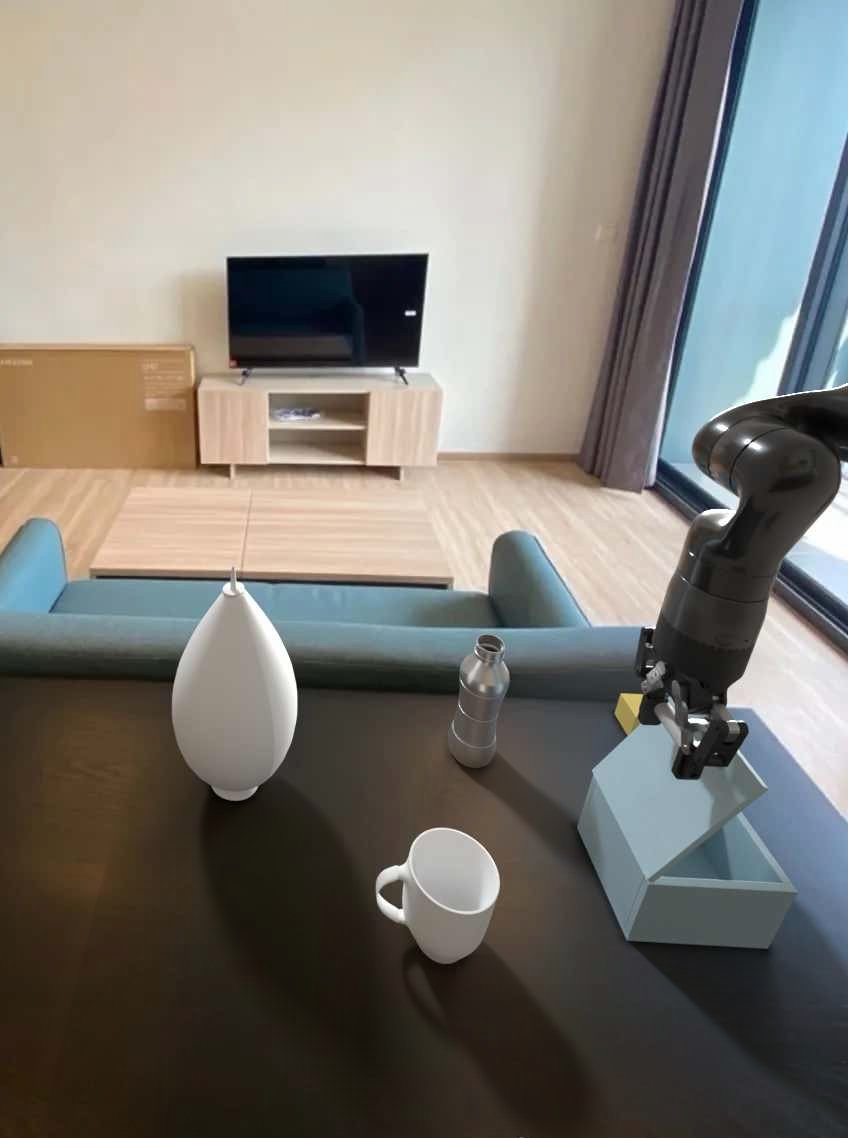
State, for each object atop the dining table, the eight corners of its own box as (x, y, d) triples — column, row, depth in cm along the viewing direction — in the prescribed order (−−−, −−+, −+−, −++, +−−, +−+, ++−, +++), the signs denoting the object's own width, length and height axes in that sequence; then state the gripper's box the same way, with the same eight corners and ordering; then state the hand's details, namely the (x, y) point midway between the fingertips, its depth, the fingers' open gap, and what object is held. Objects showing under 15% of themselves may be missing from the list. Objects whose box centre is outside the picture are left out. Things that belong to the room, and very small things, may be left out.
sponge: (653, 717, 98) (661, 694, 96) (670, 742, 94) (678, 719, 92) (613, 715, 98) (620, 693, 96) (628, 740, 94) (635, 717, 92)
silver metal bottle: (446, 769, 89) (466, 656, 81) (444, 730, 95) (463, 622, 87) (495, 779, 88) (520, 666, 80) (490, 739, 94) (513, 630, 86)
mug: (472, 901, 73) (488, 830, 69) (490, 992, 65) (510, 919, 61) (368, 889, 75) (377, 818, 70) (374, 978, 66) (384, 905, 62)
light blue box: (696, 835, 81) (719, 780, 77) (766, 951, 69) (798, 892, 65) (576, 829, 81) (593, 774, 77) (625, 943, 70) (648, 884, 66)
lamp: (287, 846, 79) (297, 617, 65) (162, 826, 81) (146, 601, 68) (298, 740, 93) (308, 534, 80) (192, 726, 96) (184, 523, 82)
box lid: (689, 685, 71) (653, 668, 71) (769, 789, 60) (727, 769, 59) (596, 772, 77) (562, 757, 77) (653, 882, 66) (613, 866, 65)
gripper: (808, 676, 53) (748, 814, 60) (703, 573, 67) (664, 696, 73) (714, 674, 54) (665, 811, 60) (629, 572, 67) (596, 694, 74)
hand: (665, 747), depth 67 cm, fingers closed on box lid, 6 cm apart
